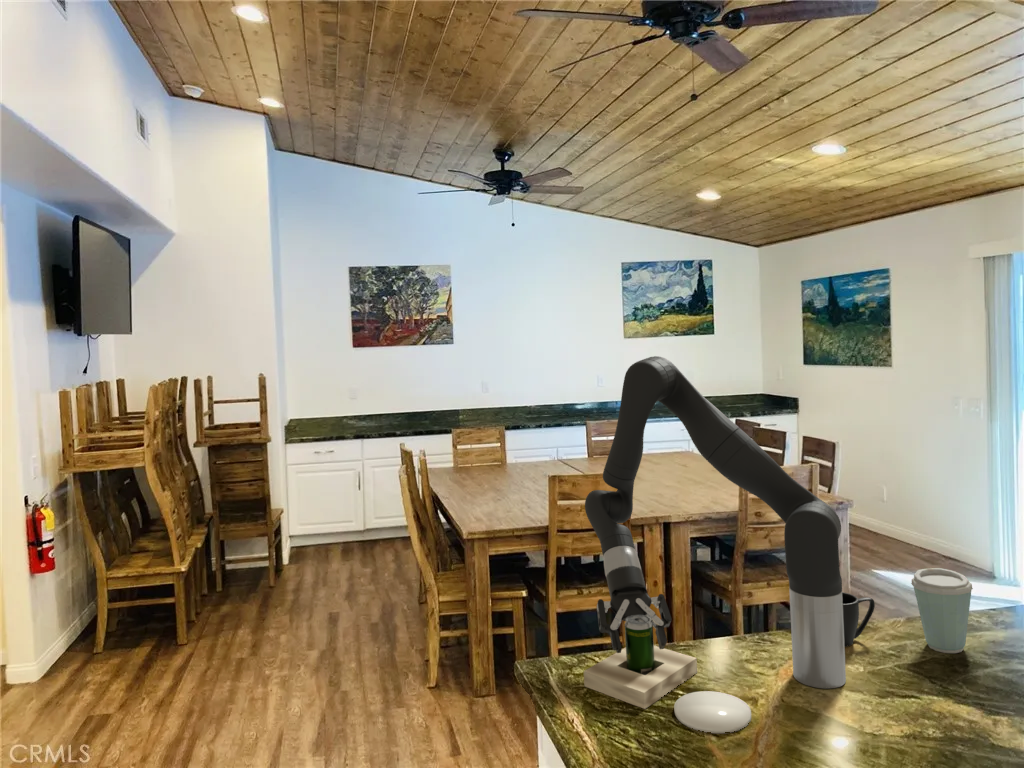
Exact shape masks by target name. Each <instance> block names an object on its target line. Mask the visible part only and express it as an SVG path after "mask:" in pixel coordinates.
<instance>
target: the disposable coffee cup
mask: <svg viewBox="0 0 1024 768" xmlns="http://www.w3.org/2000/svg"><path fill="white" fill-rule="evenodd" d="M910 584H911V585H912V587H913V590H914V595H915V600H916V602H917V607H918V611H919V615H920V622H921V626H922V629H923V635H924V638H925V642H926V643H927V646H928V647H929V649H931V650H933V651H936V652H938V653H939V652H940V653H944V654H958V653H962V651H963V650H964V648H965V646H966V641H967V633H968V625H969V615H970V607H971V606H970V605H971V598H972V597H971V596H972V590H973V589H974V588H973V583H972V582H971V581H970V580H969V579H968V578H967V577H966V576H965V575H964V574H962V573H959V572H957V571H955V570H951V569H946V568H942V567H933V568H932V567H929V568H922V569H917V570H916V572H915V573H914V574H913V577H912V579H911V583H910Z"/></svg>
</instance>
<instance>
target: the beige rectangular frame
mask: <svg viewBox="0 0 1024 768" xmlns="http://www.w3.org/2000/svg"><path fill="white" fill-rule="evenodd" d="M697 658H698V657H694V656H691V655H688V654H684V653H680V652H678V651H674V650H672V649H667V648H665V647H664V649H660V648H659V645H658V646H657V645H654V661H655V669H654V670H653V671H651V672H650V673H648V674H647V675H643V674H640V673H637V672H634V671H631V670H628V669H627V659H626V646H625V647H624V648H622V650H621V653H617V652H615V653H614V654H612V655H610V656H608V657H606V658H604V659H603V660H601V661H599V662H597V663H596V664H594V665H592V666H590V667H589V668H587V669H585V670H583V682H584V683H583V684H584V685H583V687H585V688H588V689H590V690H594V691H596V692H599V693H601V694H604V695H606V696H609V697H612V698H615V699H617V700H620V701H623V702H626V703H628V704H630V705H633V706H636V707H638V708H642V709H644V710H646V709H647V708H648V707H650V706H651V705H653V704H655V703H656V702H657V701H659V700H660V699H662V698H663V697H664V695H665V696H667V693H668V692H669V693H670V692H672V691H674V690H675V689H676V688H678V687H679V686H681V685H682V684H684V683H685V682H686V681H688V680H689V679H691V678H692V677H693V675H694V674H695V675H697V674H698V661H697ZM696 673H697V674H696ZM695 675H694V676H695ZM691 676H692V677H691ZM690 677H691V678H690ZM687 679H688V680H687ZM684 681H685V682H684ZM680 684H681V685H680ZM678 685H679V686H678ZM677 686H678V687H677ZM674 688H675V689H674ZM671 690H672V691H671ZM669 693H668V694H669ZM661 697H662V698H661Z"/></svg>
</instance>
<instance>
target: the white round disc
mask: <svg viewBox="0 0 1024 768" xmlns="http://www.w3.org/2000/svg"><path fill="white" fill-rule="evenodd" d="M673 708H674V715H675V717H676V719H677V721H679V722H680V723H681V724H683V725H684V726H685V727H688V728H689V729H692V728H693V729H692V730H695V731H698V730H700V731H699V732H702V731H704V732H703V733H707V732H711V733H710V734H726V733H725V732H730V733H735V732H738V731H741V730H743V729H745V728H746V727H748V726H749V724H750V723H751V721H752V710H751V707H750V706H749V705H748V703H747V702H745V701H744V700H742V699H740V697H737V696H734V695H731V694H729V693H724V692H720V691H714V690H712V691H711V690H710V691H708V690H703V691H692V692H689V693H686V694H683V695H682V696H680V697H679V698H678V699H677V700H676V701H675V702H674V705H673ZM749 722H750V723H749ZM748 723H749V724H748ZM744 727H745V728H744ZM742 728H743V729H742ZM740 729H741V730H740ZM734 731H735V732H734Z"/></svg>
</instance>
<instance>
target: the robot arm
mask: <svg viewBox="0 0 1024 768" xmlns="http://www.w3.org/2000/svg"><path fill="white" fill-rule="evenodd" d="M657 402H659V403H660V404H662V405H663V406H664V407H665V408H667V409H668V410H669V411H670V412H671V413H673V415H675V416H676V417H677V418H678V420H680V422H681V423H682V425H683V427H684V428H685V429H686V431H687V434H688V435H689V437H690V439H691V441H692V443H693V444H694V447H695V448H696V449H697V451H698V452H699V454H701V456H702V457H703V458H704V459H705V460H706V461H707V462H708V463H709V464H710V465H711V466H712V467H713V468H715V470H716V471H717V472H719V474H721V475H722V476H723V477H724V478H726V479H727V480H728V481H730V482H732V483H733V484H734V485H736V486H738V487H739V488H741V489H743V490H744V491H747V492H748V493H750V494H752V495H753V496H755V497H756V498H758V499H760V500H762V501H763V502H764V503H765V504H766V505H767V506H769V507H770V508H771V509H772V511H773V512H775V514H777V516H778V517H780V519H781V520H782V521H783V522H784V523H785V525H784V530H783V531H784V534H783V535H784V552H785V553H784V554H785V570H786V574H787V578H788V586H789V588H788V590H789V611H790V612H789V613H790V628H791V652H792V653H791V654H792V672H793V677H794V679H795V680H796V681H798V682H799V683H801V684H803V685H805V686H808V687H813V688H816V689H817V688H818V689H836V688H840V687H842V686H843V685H845V684H846V681H847V678H846V677H847V675H846V649H845V646H844V621H843V599H842V592H843V579H842V576H841V571H840V549H839V539H840V536H841V533H842V523H841V519H840V518H839V515H838V514H837V512H836V511H835V510H834V509H833V508H832V507H831V506H830V505H828V504H827V503H826V502H824V500H822V499H820V498H819V497H818V496H817V495H815V494H814V493H812V492H811V491H810V490H808V489H807V488H806V487H804V486H803V485H802V484H800V483H799V482H798V481H797V480H795V479H794V478H793V477H791V476H790V475H789V474H788V472H787V471H785V470H784V468H782V466H781V465H779V464H778V462H776V460H775V459H773V458H772V457H771V455H769V454H768V453H767V452H766V451H765V450H764V449H763V448H762V447H761V446H760V445H759V444H758V443H757V442H756V441H755V440H754V439H753V438H751V437H750V436H749V435H748V434H747V433H746V432H745V431H744V430H742V428H740V426H738V425H737V424H736V423H735V422H734V421H732V420H731V419H730V418H728V417H727V415H726V414H724V413H723V412H722V411H721V410H719V408H717V407H716V406H715V405H714V404H713V403H712V402H711V401H709V400H708V399H707V398H706V397H705V396H703V394H702V393H700V391H698V389H697V388H696V387H695V386H694V384H692V383H691V382H690V380H689V379H687V378H686V376H685V375H684V373H682V371H680V369H679V368H678V367H677V366H676V365H675V364H674V363H673V362H672V361H670V360H669V359H667V358H665V357H662V356H656V355H655V356H649V357H646V358H643V359H641V360H638V361H636V362H633V363H632V364H631V365H630V366H629V367H628V368H627V370H626V372H625V375H624V379H623V385H622V391H621V400H620V406H619V411H618V418H617V424H616V427H615V432H614V437H613V440H612V442H611V443H612V444H611V447H610V450H609V453H608V456H607V460H606V461H605V466H604V468H603V472H602V479H603V481H604V483H605V484H606V485H608V486H610V487H612V488H614V489H616V491H614V490H604V489H602V490H601V489H595V490H592V491H590V492H589V493H588V494H587V495H586V498H585V500H584V501H585V502H584V510H585V515H586V517H587V519H588V521H589V524H590V525H591V526H592V529H593V530H594V532H595V534H596V536H597V538H598V540H599V543H600V548H601V552H602V558H603V569H604V575H605V578H606V582H607V586H608V587H607V588H608V592H609V596H610V600H609V601H607V600H606V601H604V600H603V599H602V598H600V599H598V600H597V603H596V612H597V621H598V622H597V623H598V630H599V632H600V633H601V634H604V633H607V634H608V635H609V637H610V641H611V642H610V643H611V648H612V649H613V651H616V652H615V653H621V650H622V649H623V648H622V644H621V639H620V638H621V637H620V634H619V630H618V629H619V627H620V626H621V623H622V621H624V622H626V618H627V617H628V616H631V615H645V616H648V617H650V618H651V622H652V624H653V629H655V636H656V640H657V644H658V647H659V648H660V649H664V648H665V647H666V645H667V644H668V643H667V642H668V639H667V638H668V637H667V635H666V630H665V629H666V628H669V627H670V625H671V622H672V616H671V613H670V609H669V607H668V604H667V600H666V599H665V595H664V594H663V593H660V594H658V596H653V597H651V596H650V595H649V594H648V590H647V588H646V581H645V578H644V573H643V570H642V566H641V563H640V558H639V556H638V554H637V551H636V547H635V543H634V539H633V535H632V532H631V529H629V528H628V527H627V526H626V525H624V524H623V523H626V522H627V521H628V520H629V519H630V518H631V517H632V514H633V509H634V508H633V507H634V506H633V505H634V503H633V502H634V500H633V499H634V498H633V497H634V484H635V480H636V477H637V474H638V471H639V467H640V465H641V463H642V462H641V461H642V458H643V454H644V453H643V452H644V433H645V430H646V429H645V428H646V425H647V422H648V419H649V417H650V415H651V412H652V411H653V408H654V407H655V405H656V404H657ZM651 604H652V605H653V606H654V607H655V608H656V609H658V612H659V614H660V617H659V616H658V615H657V614H656V612H655V611H654V610H653V609H651V606H652V605H651ZM609 609H610V610H612V611H613V613H615V617H614V618H613V620H612V622H611V624H609V623H607V616H606V613H608V610H609Z"/></svg>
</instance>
